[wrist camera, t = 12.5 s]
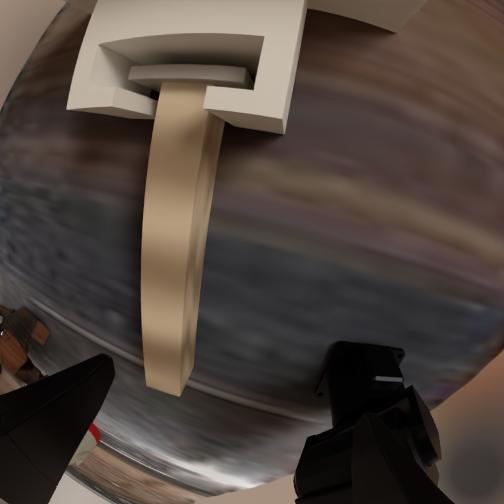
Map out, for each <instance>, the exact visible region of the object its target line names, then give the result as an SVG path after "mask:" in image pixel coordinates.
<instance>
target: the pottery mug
mask: <svg viewBox="0 0 504 504" xmlns="http://www.w3.org/2000/svg"><path fill="white" fill-rule="evenodd" d="M0 315H1V316H2V317H3V320H2V323H1V324H0V334H1V332H2V331H3V333H2V335H0V363H1V364H2V365H3V366H4V367H5V368H6V369H7V370H8V371H9V372H11V373H12V374H13V375H14V376H15V377H17V378H18V379H19V380H21V381H22V382H24V383H25V384H27V385H29V384H31V383H34V382H36V381H39V380H41V379H43V378H46V377H48V375H45V376H43V374H41V371H40V370H39V369H38V368H37V367H35V366H34V364H33V363H32V361H31V360H30V358H29V357H28V356H27V353H28V345H27V342H28V339H29V338H30V337H31V338H32V339H34V340H36V341H37V342H38V343H40V344H41V345H44V344H45V342H46V339H47V338H48V336H49V334H50V331H49V330H48V329H47V328H46V327H45V326H44V325H43V324H42V323H41V322H40V321H38V320H37V319H36V318H35V317H34V316H33V314H32V313H31V312H30V311H29V310H27V309H26V308H25V307H21V308H20V309H19V310H17V311H15V310H14V309H12V310H10V309H7V308H5V307H4V306H2V305H0Z"/></svg>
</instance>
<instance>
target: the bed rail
mask: <svg viewBox="0 0 504 504" xmlns="http://www.w3.org/2000/svg"><path fill="white" fill-rule="evenodd" d="M128 80H131V81H133V82H136V83H138V84H141V85H143V86H145V87H148V88H150V89H153V90H155V91H157V92H160V96H159V101H158V106H157V111H156V117H155V122H154V128H153V134H152V141H151V148H150V155H149V163H148V171H147V180H146V190H145V201H144V214H143V229H142V252H141V316H142V338H143V353H144V366H145V377H146V386H148V387H151V388H154V389H157V390H160V391H163V392H166V393H169V394H172V395H175V396H179V397H180V396H181V394H182V391H183V389H184V387H185V385H186V382H187V380H188V378H189V376H190V373H191V371H192V369H193V365H194V351H195V339H196V328H197V317H198V307H199V297H200V288H201V279H202V270H203V261H204V253H205V245H206V238H207V230H208V223H209V216H210V209H211V202H212V195H213V188H214V182H215V176H216V170H217V163H218V157H219V152H220V146H221V140H222V135H223V129H224V124H225V120H223V119H221V118H219V117H218V116H216V115H214V114H212V113H210V112H209V111H207V110H205V109H203V105H204V100H205V95H206V90H207V86H216V87H227V88H237V89H246V90H254V86H255V85H254V83H253V81H252V79H251V77H250V75H249V72H248V70H247V68H244V67H233V66H220V65H198V64H164V65H143V66H131V68H130V72H129V77H128Z"/></svg>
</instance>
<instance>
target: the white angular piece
mask: <svg viewBox="0 0 504 504" xmlns="http://www.w3.org/2000/svg"><path fill="white" fill-rule="evenodd" d="M64 1H66V2H68V3H70V4H72V5H74V6H76V7H78V8H80V9H82V10H84V11H86V12H88V13H90V14H92V16H91V19H90V22H89V24H88V27H87V30H86V33H85V36H84V39H83V42H82V45H81V49H80V52H79V56H78V59H77V63H76V67H75V71H74V75H73V79H72V83H71V88H70V93H69V98H68V103H67V109H66V110H75V111H83V112H91V113H99V114H105V115H112V116H118V117H124V118H130V119H155V117H156V111H157V106H158V101H157V100H154V99H151V98H150V95H151V90H152V89H150V88H148V87H145V86H143V85H141V84H138V83H136V82H133V81H131V80H128V77H129V72H130V68H131V66H143V65H164V64H198V65H220V66H233V67H244V68H247V70H248V72H249V75H250V77H256V81H255V86H254V90H246V89H237V88H227V87H216V86H207V90H206V95H205V100H204V105H203V109H205V110H207V111H209V112H210V113H212V114H214V115H216V116H218V117H219V118H221V119H223V120H225V121H226V122H228V123H230V124H231V125H233V126H235V127H242V128H249V129H255V130H261V131H267V132H273V133H278V134H285V129H286V124H287V118H288V113H289V108H290V102H291V97H292V91H293V86H294V80H295V75H296V69H297V64H298V58H299V53H300V47H301V41H302V36H303V30H304V24H305V18H306V13H307V8H308V9H314V10H319V11H324V12H328V13H333V14H337V15H341V16H345V17H348V18H352V19H356V20H359V21H362V22H366V23H369V24H372V25H375V26H378V27H381V28H384V29H387V30H389V31H392V32H395V33H398V32H399V30H400V29H401V28H402V27H403V26H404V25H405V24H406V23H407V22H408V21H409V20H410V19H411V18H412V17H413V16H414V14H415V13H416V12H417V11H418V10H419V9H420V8H421V7H422V6H423V5H424V4H425V3H426V2H427V1H428V0H64Z"/></svg>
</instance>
